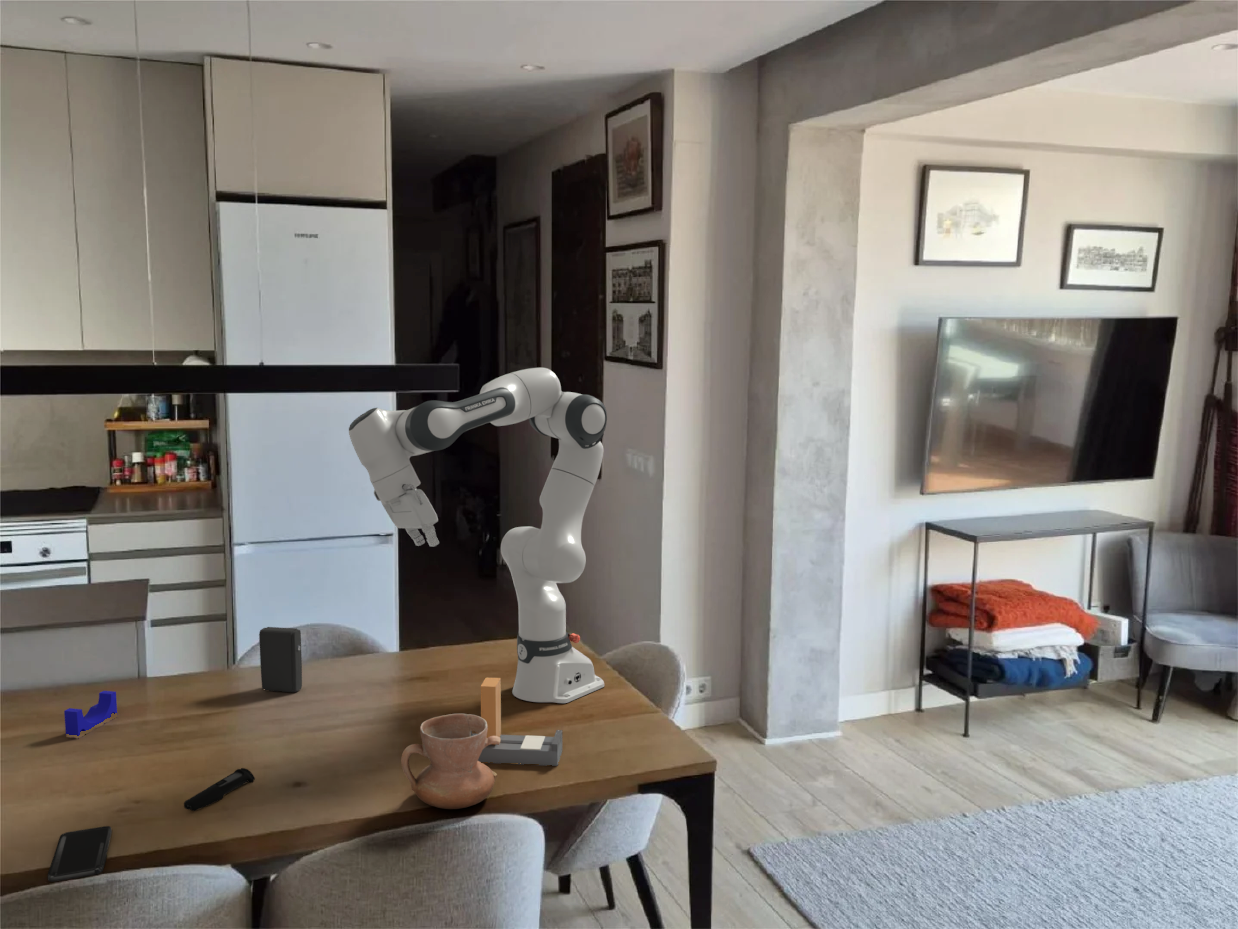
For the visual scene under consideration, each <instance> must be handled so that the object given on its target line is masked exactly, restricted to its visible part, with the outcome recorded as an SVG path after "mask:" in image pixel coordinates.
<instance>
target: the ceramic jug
mask: <svg viewBox="0 0 1238 929" xmlns="http://www.w3.org/2000/svg"><path fill="white" fill-rule="evenodd" d="M487 730H488V726H487V722H486V720H485V719H483V718H481V716H479V715H476V714H470V713H469V714H467V713H452V714H451V713H450V714H446V715H445V714H444V715H439V716H434V717H431V718H429V719H426V720H425V721H423V722H421V724H420V727H419V731H420V732H419V733H420V738H421V742H422V744H419V743H412V744H410V745H408V746H406V748H405V749H404V750H403V751H402V754H401V758H400V760H401V762H400V763H401V768H402V771H403V773H404V775H405V777H406V778H407V780H408V781H409V782H410V784H411V785H410V786H411V790H412V792H414V793H415V795H416V796H417V797H418V798H419V799H420V800H421V801H422V802H424V803H425V804H426V805H429V806H431V807H435V808H436V809H437V808H438V809H441V810H443V809H444V810H459V809H465V808H468V807H472V806H474V805H477V804H479V803H481V802H483V801H484V800H485V799H486V798H487V797H489V796H490V794H491V793H492V791H493V788H494V785H495V782H496V779H497V777H498V774H497V773H496V772H495V771H493V770H492V768H490V767H489V766H487V765H486V763H481V762H479V761H478V759H479V757H480V754H481V752H482V750H483V749H484V748H485V747H486V746H488V745H490V744H497V745H499V744H500V740H501V739H500V737H498V736H490V737H488V738H486V736H487ZM471 731H472V732H475V733H476V734H478V735H474V736H471ZM412 754H419V755H421V756H423V757H425V758H427V759H429V762H430V764H429V765H427V766H426V767H424V768H423V769H422V770H421V771H420V772H419V773H418V775H417V776H416V777H415V776H414V774H413V772H412V770H411V768H410V757H411V755H412Z"/></svg>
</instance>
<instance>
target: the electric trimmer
mask: <svg viewBox="0 0 1238 929" xmlns="http://www.w3.org/2000/svg"><path fill="white" fill-rule="evenodd" d="M255 780H256V777H255V776H254V774H253V773H252V772H251V771H250V770H249V769H248V768H244V767H242V768H237V769H235V770H234V772H232V773H230V774H229V775H227V776H225V777H224V778H221V779H220V780H218V781H217V782H215V783H213V784H212V785H210V786H208V787H207V788H205V789H203V790H201V791H200V792H198V793H196V794H195V795H193V796H191V797H189V798H188V799H187V800H186V799H185V801H184V802H183V808H184V809H185V810H189V811H193V812H195V811H198V810H201V809H202V808H206V807H208V806H210V805H212V804H214V803H216V802H219V801H220V800H222V799H223V798H224V797H225V795H227V794H229V793H230V792H232V791H234V790H236V789H238V788H239V787H241V786H243V785H246V784H247V783H251V782H252V783H253V782H254V781H255Z"/></svg>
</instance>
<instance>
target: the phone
mask: <svg viewBox="0 0 1238 929" xmlns="http://www.w3.org/2000/svg"><path fill="white" fill-rule="evenodd" d="M112 831H113V830H112V827H111V826H110V825H104V826H99V827H98V826H97V827H92V828H84V829H80V830H79V829H78V830H72V831H68V832H64V833H61V834H60V836H59V837H58V841H57V845H56V847H55V851H54V854H53V857H52V860H51V863H50V866H49V869H48V872H47V880H48V881H49V882H51V883H52V882H53V883H54V882H59V881H66V880H71V879H72V880H73V879H76V878H83V877H89V876H96V875H98V874H100V873H102V872H103V871H104V867H105V864H106V861H107V858H108V855H107V854H108V851H109V845H110V841H111V838H112V837H111V836H112Z"/></svg>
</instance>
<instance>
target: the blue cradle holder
mask: <svg viewBox="0 0 1238 929" xmlns="http://www.w3.org/2000/svg"><path fill="white" fill-rule="evenodd" d="M117 703H118V702H117V691H112V690H111V691H110V690H103V691H100V692H99V693H98V702H97V703H96V704H94V705H92V706H90V707H89V710H88V711H87V713H86V714H85V715H84V714H83V709H81V708H73V707H72V708H71V707H70V708H67V709H65V710H64V713H63V714H64V726H65V735H66V734H69V735H77V736H79V735H80V732H81V731H86V730H89V729H91V728H92V727H94V726H95V725H97V724H99V723H101V722H103V721H104V720H105V719H107V718H110V717H111V714H112V713H114V714H115V713H117V714H118V705H117Z"/></svg>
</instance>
